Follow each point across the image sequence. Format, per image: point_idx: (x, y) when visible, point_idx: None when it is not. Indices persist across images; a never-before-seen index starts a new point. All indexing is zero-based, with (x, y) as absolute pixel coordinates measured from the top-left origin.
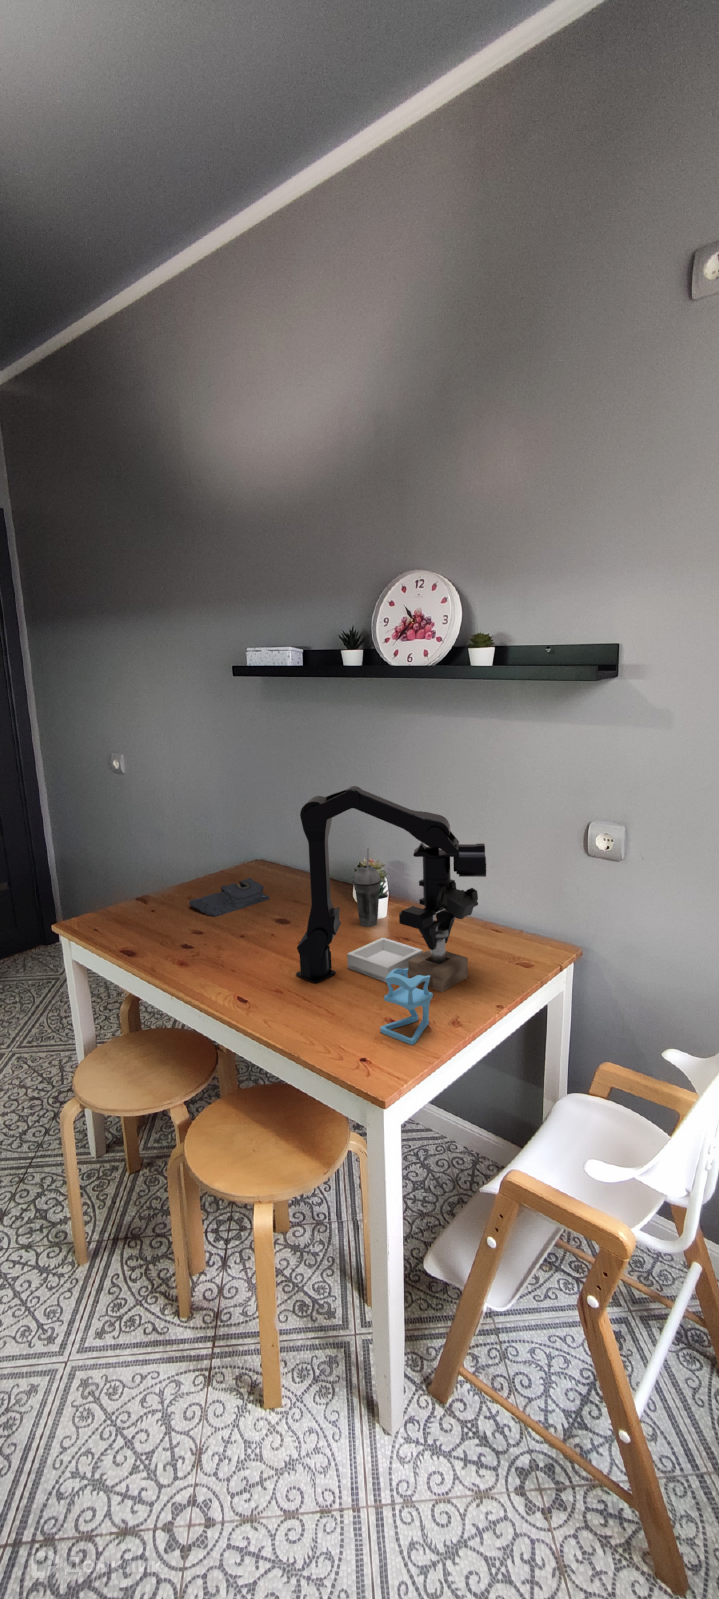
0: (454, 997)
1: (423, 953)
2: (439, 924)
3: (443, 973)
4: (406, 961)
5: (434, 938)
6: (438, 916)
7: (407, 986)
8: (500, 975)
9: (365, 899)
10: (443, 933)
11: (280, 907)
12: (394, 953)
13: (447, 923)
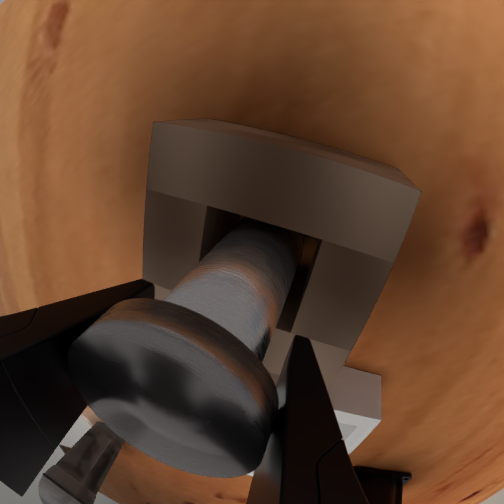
0: (421, 101)
1: None
2: (74, 407)
3: (403, 182)
4: (274, 381)
5: (302, 409)
6: (37, 451)
7: None
8: (138, 25)
9: (94, 478)
10: (196, 373)
11: (160, 501)
12: None
13: (30, 371)
